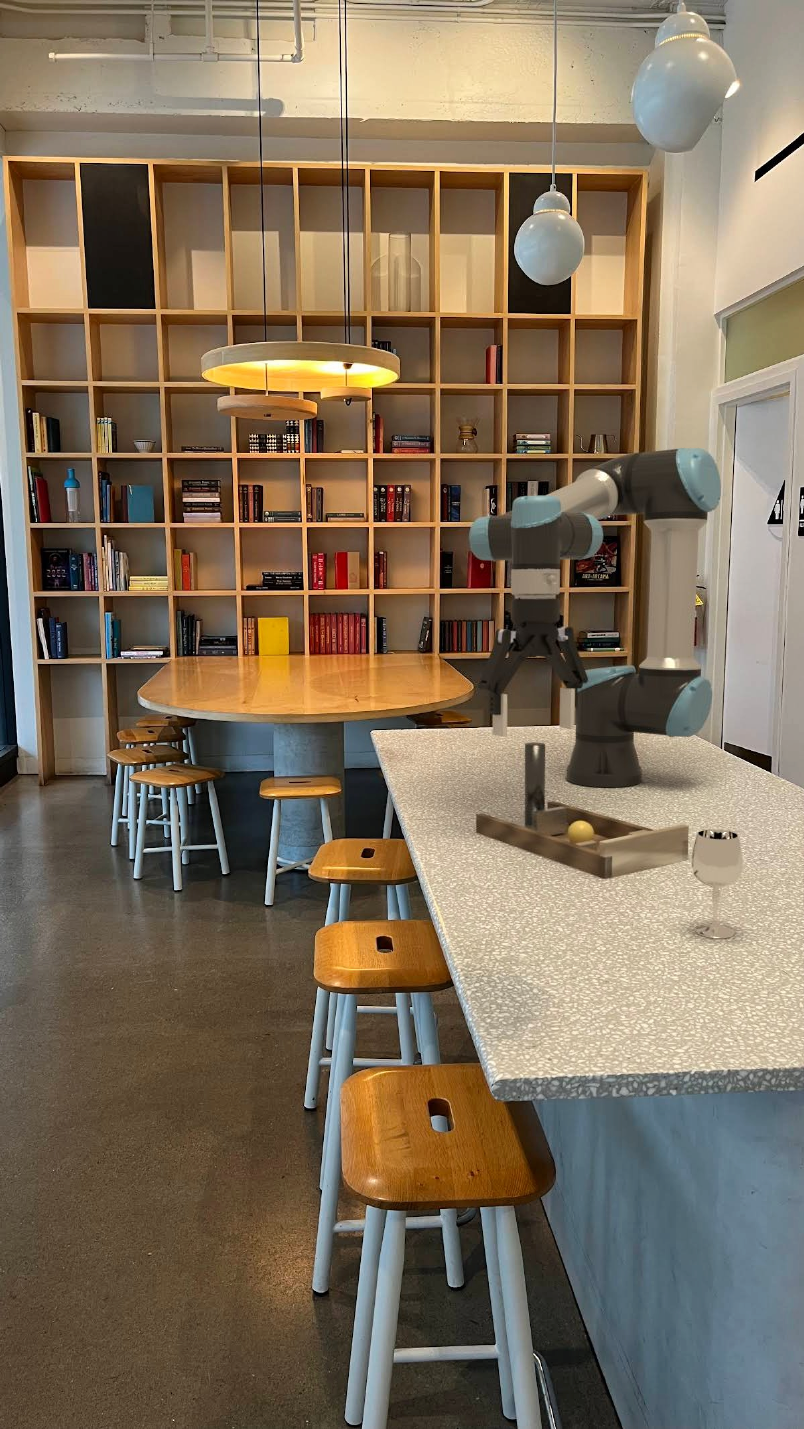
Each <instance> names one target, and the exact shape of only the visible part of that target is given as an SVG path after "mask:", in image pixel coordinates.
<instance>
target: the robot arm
mask: <svg viewBox="0 0 804 1429" xmlns="http://www.w3.org/2000/svg"><path fill="white" fill-rule="evenodd" d="M715 461H716V460H715V458H714V457H713V456H712V455H711V453H710V452H708V451H707V450H705V449H703V448H699V447H697V448H696V447H694V448H692V447H689V448H685V447H683V448H682V447H680V448H674V449H664V450H657V451H656V450H655V451H654V450H653V451H647V452H633V453H627V454H624V455H621V456H618V457H614V458H613V459H610V460H607V461H605V462H602V463H601V464H599V465H596V466H593V467H591V468H589V469H587V470H585V471H583V472H581V473H580V474H579V475H578V476H577V478H576V479H575V481H574V482H572V483H570V484H568V485H565V486H563V487H561V488H559V489H557V490H554V491H552V492H550V493H548V494H546V495H524V496H519V497H518V496H517V497H516V498H515V499H514V500H513V502H512V509H511V510H510V511H507V512H505V513H503V514H500V515H492V514H490V515H488V516H481V517H479V518H476V519H475V521H474V522H473V523H471V526H470V530H469V534H468V535H469V536H468V541H469V547H470V550H471V552H472V554H473V556H474V557H476V558H477V559H478V560H481V561H492V562H499V561H501V562H502V561H511V570H510V571H511V573H510V574H511V576H510V578H511V579H510V594H512V596H514V598H512V600H511V601H510V620H511V623H512V624H513V626H512V630H511V629H501V628H498V629H496V630H495V634H494V635H495V636H494V645H493V647H492V648H491V652H490V654H489V657H488V659H487V662H486V665H484V666H485V667H484V669H483V671H482V674H481V676H480V680H479V682H478V684H477V688H478V689H479V690H480V691H481V690H482V691H484V692H485V693H488V696H489V697H488V698H489V699H488V700H489V703H488V704H489V706H488V707H489V709H488V711H489V714H490V715H492V735H493V736H498V737H503V738H504V737H506V738H507V737H508V694H506V693H504V691H505V690H506V688H507V687H508V685H509V683H510V682H511V680H512V679H513V677H514V676H515V675H516V673H517V671H518V670H519V668H520V666H521V665H522V663H523V662H524V661H526V660H528V658H536V657H540V658H541V657H543V658H545V659H546V660H547V661H548V663H549V664H550V666H551V667H552V669H553V670H554V672H555V674H556V675H557V677H558V678H559V679H560V681H561V682H562V684H563V685H564V686H565V687H559V728H561V729H567V730H574V729H575V742H574V746H573V750H572V753H571V756H570V759H569V760H570V761H569V764H568V765H567V766H566V780H567V782H570V783H572V784H575V785H580V786H587V787H594V788H595V787H597V788H622V787H628V786H634V785H638V784H640V783H642V782H643V769H642V766H640V763H639V762H640V761H639V757H638V754H637V753H638V752H637V750H636V747H635V740H634V739H635V736H634V734H635V733H636V734H637V733H638V734H648V735H658V736H667V737H669V738H675V737H676V738H677V737H679V738H680V737H681V738H683V737H684V738H689V737H693V736H695V735H696V734H698V733H699V732H700V731H702V728H703V727H704V725H705V724H706V722H707V720H708V717H709V714H710V711H711V708H712V703H713V689H712V683H711V681H710V680H709V679H708V678H706V677H705V676H702V666H701V664H700V663H699V662H697V661H696V659H695V658H694V652H695V651H694V650H695V626H696V602H697V580H698V579H697V577H698V556H699V555H698V552H699V550H698V549H699V532H700V530H701V529H702V528H703V527H704V526H705V525H706V524H707V523H708V516H709V515H708V513H711V512H712V511H715V510H716V509H717V507H718V506H719V505H720V504H719V503H720V500H721V496H722V495H721V494H722V483H721V476H720V473H719V469H718V468H719V467H718V466H717V463H716V462H715ZM615 515H616V516H619V515H644V516H643V523H644V524H645V526H646V527H647V528H648V529H649V530H650V531H651V545H650V547H651V548H650V571H649V572H650V573H649V574H650V577H649V598H648V599H649V600H648V601H649V603H648V627H647V628H648V630H647V632H648V634H647V635H648V636H647V656H646V658H645V659H644V660H643V661H641V663H640V664H639V665H638V673H636V672H637V670H636V668H635V666H634V665H617V666H616V665H615V666H609V667H608V666H607V667H600V668H598V667H597V668H591V669H585V666H584V663H583V662H582V658H581V655H580V654H579V649H578V647H577V645H576V642H575V638H574V636H575V635H574V628H573V627H572V626H558V625H557V623H558V622H559V621H560V607H561V606H560V602H561V601H560V600H559V598H556V596H557V595H560V592H561V591H560V588H561V586H560V584H561V580H560V579H561V578H560V577H561V569H560V568H561V560H573V561H576V560H578V561H580V560H583V559H584V560H585V559H589V558H591V557H593V556H595V554H597V552H598V551H599V550H600V549H601V546H602V543H603V540H604V531H603V526H602V524H601V523H600V521H599V520H603V519H605V518H608V517H611V516H615ZM557 626H558V627H557ZM557 640H558V644H559V646H558V645H557V643H556V641H557ZM512 643H513V645H512V646H511V644H512ZM510 646H511V648H510ZM559 647H560V648H559ZM507 655H508V656H507Z"/></svg>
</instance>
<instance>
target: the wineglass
mask: <svg viewBox="0 0 804 1429" xmlns="http://www.w3.org/2000/svg"><path fill="white" fill-rule="evenodd" d="M693 844H694V845H693V848H692V853H691V867H692V873H693V874H694V876H695V878H696V879H697V880H698V881H699V882H701V883H702V884H703V885H706V886H709V887H712V888H713V889H712V891H711V899H712V904H713V905H712V906H713V915H712V916H713V917H712V921H711V923H710V924H702V925H699V926H697V927H696V928H695V933H696V934H698V935H699V936H701V937H702V936H703V937H706V938H711V939H719V940H720V939H722V940H723V939H728V938H731V937H734V935H735V931H734V930H733V929H732V928H730V927H727V926H724V925H720V924H719V923H720V922H719V920H718V909H719V908H718V907H719V901H720V899H721V891H720V890H719V889H720V888H725V887H728V886H731V885H733V884H735V883H736V882H737V881H738V880H739V879H740V877H741V875H742V872H743V861H744V860H743V851H742V846H741V841H740V837H739V834H738V833H737V832H734V831H730V830H724V829H703V830H699V831H697V834H696V837H695V840H694V843H693Z"/></svg>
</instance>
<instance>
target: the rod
mask: <svg viewBox="0 0 804 1429" xmlns="http://www.w3.org/2000/svg"><path fill="white" fill-rule="evenodd" d="M509 822H510V823H513V824H516V825H519V826H523V827H526V828H529V829H532V830H535V831H538V832H541V833H544V834H547V835H556V834H561V833H566V830H568V823H566V808H565V807H562V806H561V807H556V808H550V809H547V808H546V744H545V743H544V742H536V741H535V742H526V743H524V819H520V820H515V821H509Z"/></svg>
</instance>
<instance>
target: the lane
mask: <svg viewBox="0 0 804 1429" xmlns="http://www.w3.org/2000/svg"><path fill="white" fill-rule="evenodd" d="M561 806H562V807H565V808H566V823H568V829H569V827H570V825H571V824H573V823H574V822H576V821H585V822H587V823H589V824H590V825H591V826H592V828H593V830H594V838H593V841H592V840H591V841H587V842H582V843H577V844H574V843H571V842H570V841H569V839H568V830H566V833H561V834H556V835H547V834H544V833H541V832H538V831H535V830H532V829H529V828H526V827H523V826H519V825H516V824H513V823H510V822H511V821H507V820H504V819H500V818H498V817H495V816H492V815H489V814H485V813H482V812H481V813H480V812H479V813H476V814H475V831H476V832H475V833H476V834H478V835H482V836H484V837H487V838H491V839H492V840H496V841H497V842H502V843H504V844H507V845H510V846H512V847H514V848H518V849H521V850H523V851H526V852H529V853H531V854H533V855H538V856H540V857H543V858H545V859H548V860H550V861H554V862H557V863H559V864H562V865H564V866H568V867H570V868H572V869H576V870H577V871H581V872H584V873H587V874H589V875H593V876H595V877H597V878H598V877H599V878H601V879H604V880H608V879H612V878H616V877H620V876H625V875H629V874H634V873H637V872H643V871H646V870H651V869H655V868H659V867H663V866H668V865H673V864H676V863H677V864H678V863H681V862H685V861H688V860H689V829H690V828H689V825H686V824H678V825H673V826H669V827H664V828H657V829H652V828H649V827H645V826H642V825H638V824H635V823H632V822H629V821H625V820H622V819H617V818H614V817H610V816H607V815H603V814H600V813H598V812H593V811H590V810H586V809H582V808H578V807H575V806H572V805H568V804H565V803H562V802H558V801H554V800H550V801H547V808H546V809H550V808H556V807H561Z"/></svg>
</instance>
